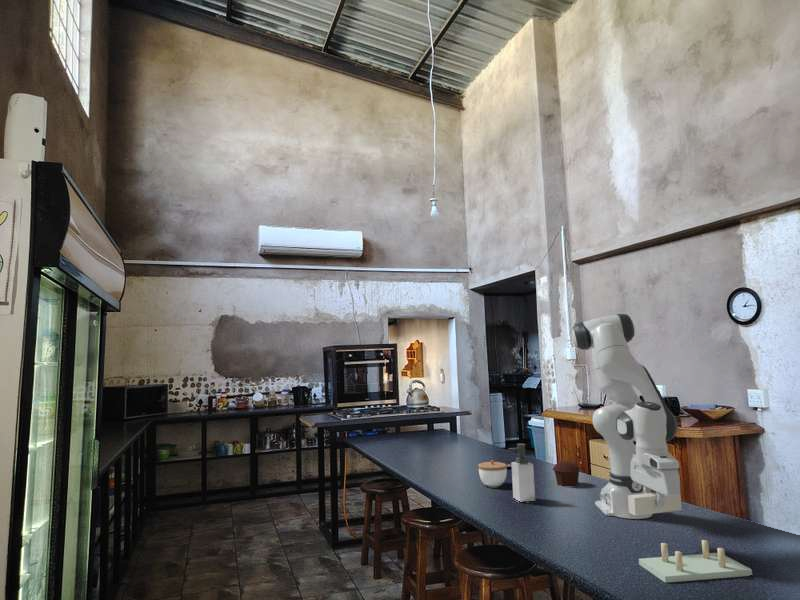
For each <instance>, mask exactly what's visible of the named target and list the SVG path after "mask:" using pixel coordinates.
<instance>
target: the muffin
mask: <svg viewBox="0 0 800 600" xmlns="http://www.w3.org/2000/svg"><path fill="white" fill-rule="evenodd" d="M552 470H553V471H554V475H555V480H556V484H557V486H559V485H561V486H560V487H562V486H575V487H577V485H578V486H579V479H580V478H579V476H580V471H581V468H580V467H579V465H577V464H576V463H575V462H574V461H571V460H560V461H558V462H557V463H555V464H554V466H553V468H552Z"/></svg>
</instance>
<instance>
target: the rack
mask: <svg viewBox="0 0 800 600" xmlns="http://www.w3.org/2000/svg"><path fill="white" fill-rule="evenodd" d="M668 547H669V546H668V543H666V542H661V543H660V549H661V550H660V551H661V556H658V557H646V558H645V557H644V558H643V557H642V558H638V565H640V566H641V568H643V569H645V570H646V571H648V572H649V573H651V574H652V575H654V576H655V577H656V578H658V579H659V580H661V581H662V582H664V583H665V584H666V583H667V584H669V583H678V582H679V583H680V582H681V583H682V582H688V581H689V582H691V581H692V582H693V581H701V580H713V579H714V580H715V579H727V578H728V579H729V578H737V577H739V578H741V577H750V575H752V576H753V570H752V569H751V568H750V567H748V566H747V565H744V564H742V563H740V562H738V561H737V560H734V559H732V558H730V557H728V556H727V555H726V554H725V553H726V552H725V549H724V548H722V547H717V548H716V549H717V552H710V547H709V540H706V539H701V548H702V549H701V550H702V553H696V554H685V555H684V554H683V552H681V551H679V550H675V551H674V555H673V556H672V555H670V556H669V548H668Z"/></svg>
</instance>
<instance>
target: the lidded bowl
mask: <svg viewBox="0 0 800 600" xmlns="http://www.w3.org/2000/svg"><path fill="white" fill-rule="evenodd" d="M477 465H478V466H477V467H478V474H479V478H480V480H481V482H482V483H483V484H484V486H485V485H489V486H500V485H501V486H502V485H503V484H504V483H505V481H506V479H507V473H508V472H507V468H508V467H507V465H508V464H506V463H504V462H500V461H494V460H493V459H491V460H490V461H483V462H480V463H478V464H477ZM501 486H500V487H501Z"/></svg>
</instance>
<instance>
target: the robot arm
mask: <svg viewBox="0 0 800 600" xmlns="http://www.w3.org/2000/svg"><path fill="white" fill-rule="evenodd" d="M571 331H572V332H571V337H572V341H573V343H574V345H576V347H577V348H578V349H580V350H584V351H585V350H587V351H589V349H591V357H592V364H593V368H594V373H595V377H596V379H597V384H598V388H599V391H600V392H601V393H602V394H604V395H605V396H606V397H608V399H609V400H610V401H611V404H609V405H605V406H602V407H600V408H597V409H596V410H594V412H593V415H592V425H593V428H594V429H595V431H596V432H597V433H598V434H599V435H601V437H602V438H603V439H604V441H605V443H606V446H607V448H608V452H609V461H610V471H608V476H609V477H608V483H607V484H606V485H605V486H604V487H602V488H601V490H600V492H599V498H600V500H596V501H594V504H595V506H596V507H597V508H598V509H599V510H600V511H601V512H602V513H603V514H604V515H605V516H610V517H618V518H623V519H628V520H629V519H630V520H631V519H634V520H640V519H648V518H651V517H653V514H645V515H637V516H635V515H633V514H631V513H629V506H628V495H636V494H646V493H653V491H654V492H656V494H657V495H658V496H657V500H655V505H656V506H658V507H663V506H664V499H665V497H666V496H667V497H676V496H679V494H680V493H681V479H680V478H681V477H680V473H679V471H678V469H679V468H680V462H679V460H677V459H676V458H675V457H674V456H673V455H672V454H671V452H669V447H668V443H667V442H670V441H671V440H672V439H673V438H675V436H676V435H677V434H678V433H677V432H678V429H679V424H678V421H677V418H676V417H675V415H674V413H673V412H672V411H671V409H670V408H669V407H668V405H667V404H666V401H665V400H664V398H663V396H662V393H661V392H660V391H659V388H658V387H657V385H656V383H655V382H654V379H653V378H652V376H651V373H649V371H648V370H647V368H646V367H645V366H644V365H642V364H641V363H640V362H638V360H637V359H636V358H635V357H634V356H633V354H632V352H631V351H630V347H629V345H628V343H629V342H631V341H632V340H633V338H634V337H635V333H636V332H635V331H636V327H635V323H634V321H633V320H632V318H631V316H630V315H628V314H627V313H617V314H612V315H605V316H599V317H597V318H593V319H589V320H586V321H580V322H578V323H575V324H574V325H573V327H572V330H571ZM634 387H635V388H636V389H637V390H638V392H640V394H641V397H642V398H643V400H644V401H642V400H641V399H640V397H639V395H638V394H637V392H636V391H635V389H634ZM634 442H635V444H634Z"/></svg>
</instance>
